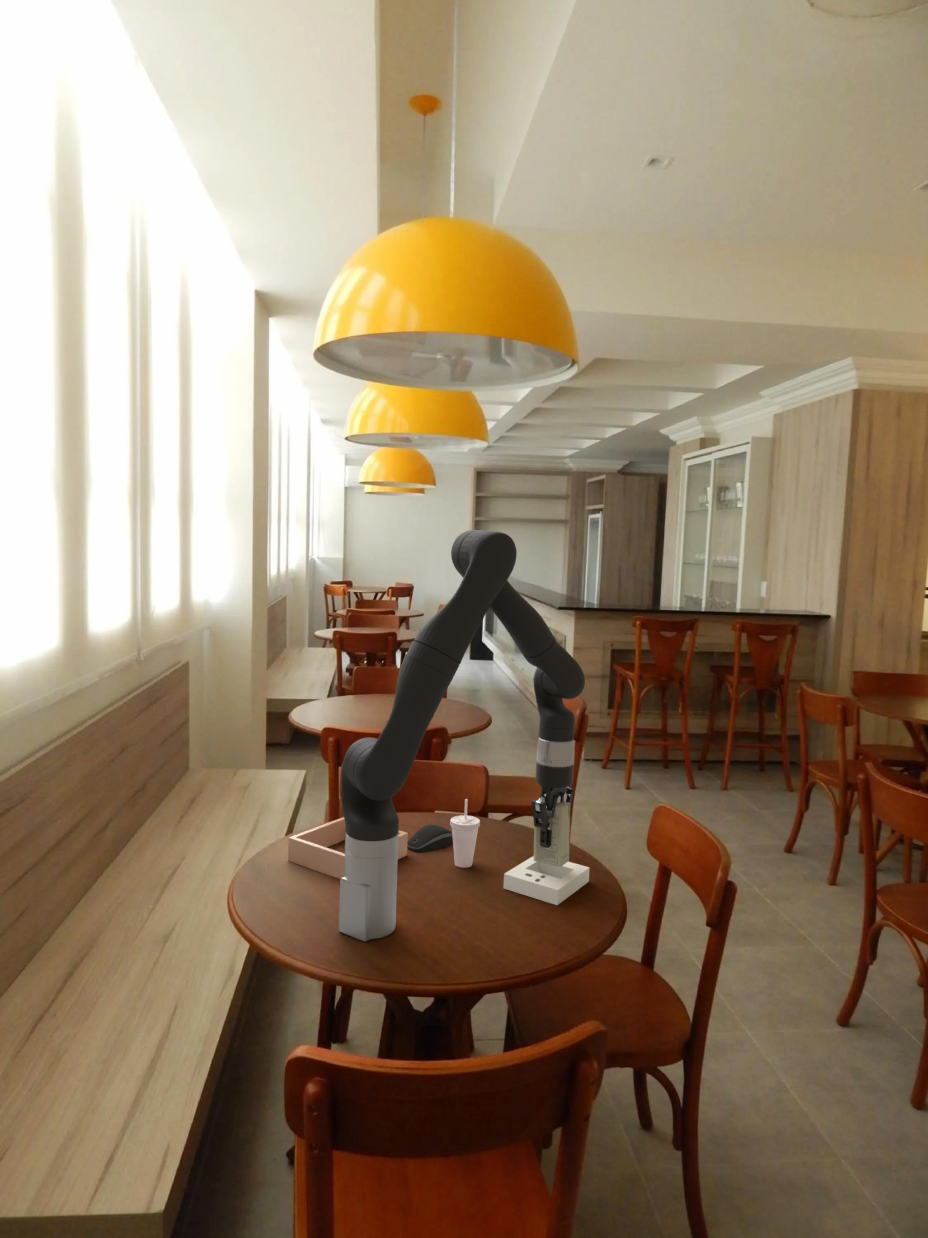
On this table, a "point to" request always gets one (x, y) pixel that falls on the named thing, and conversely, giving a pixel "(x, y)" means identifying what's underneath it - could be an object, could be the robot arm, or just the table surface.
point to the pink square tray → (318, 857)
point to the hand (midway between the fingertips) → (551, 842)
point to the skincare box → (555, 838)
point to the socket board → (546, 880)
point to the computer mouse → (430, 838)
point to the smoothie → (464, 838)
